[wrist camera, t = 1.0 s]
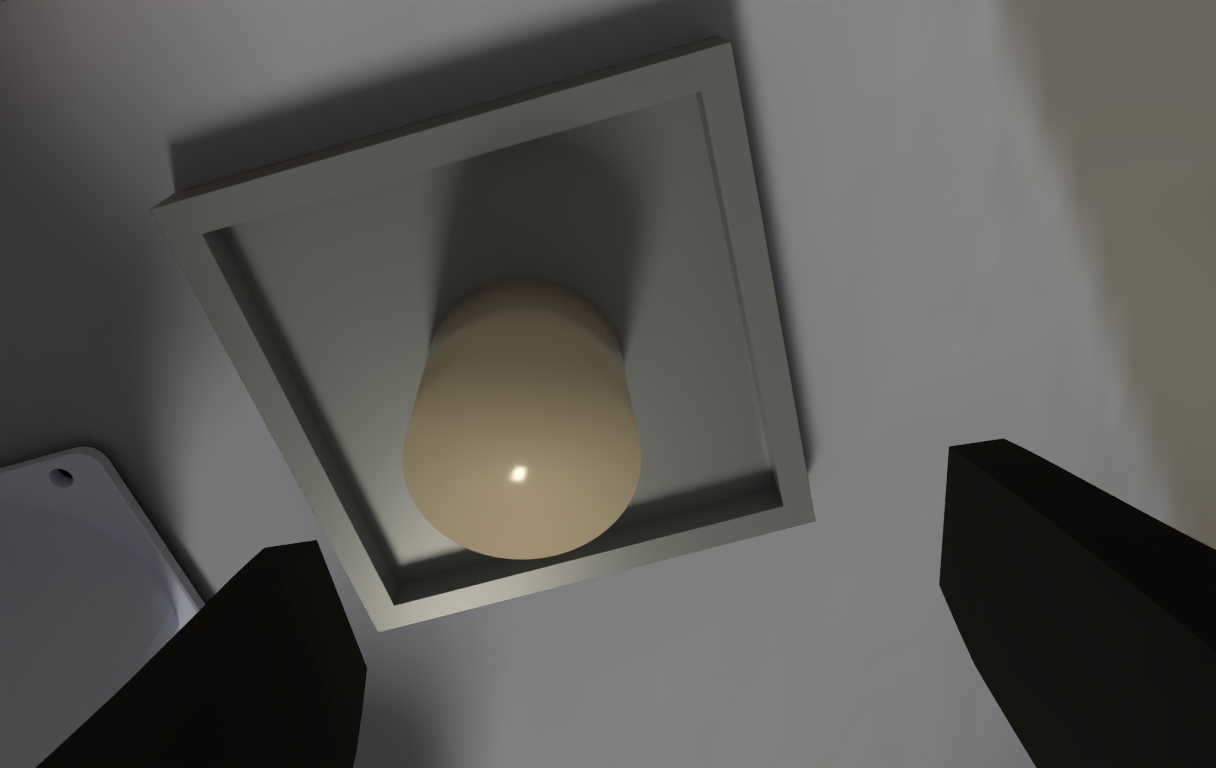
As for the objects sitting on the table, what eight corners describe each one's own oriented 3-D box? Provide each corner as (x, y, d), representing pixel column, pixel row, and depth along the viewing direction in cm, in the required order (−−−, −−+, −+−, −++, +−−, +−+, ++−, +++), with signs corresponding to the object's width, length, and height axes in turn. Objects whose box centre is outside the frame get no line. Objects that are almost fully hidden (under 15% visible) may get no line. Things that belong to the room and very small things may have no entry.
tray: (385, 600, 22) (378, 632, 21) (174, 193, 17) (149, 209, 16) (801, 493, 22) (815, 521, 20) (718, 36, 16) (730, 41, 15)
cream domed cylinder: (466, 470, 20) (450, 582, 16) (398, 308, 18) (363, 396, 14) (642, 424, 20) (664, 527, 16) (593, 254, 18) (607, 330, 14)
